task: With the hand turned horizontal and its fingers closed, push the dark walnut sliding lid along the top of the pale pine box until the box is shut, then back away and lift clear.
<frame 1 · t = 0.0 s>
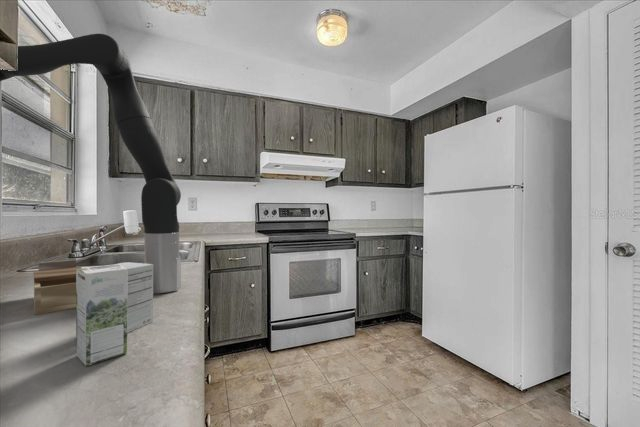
syrup box: (102, 356, 49), on the countertop
box: (61, 304, 75), on the countertop
supplement box: (125, 327, 61), on the countertop
lid: (59, 269, 81), point 8 cm above the countertop, slide at 6.5 cm
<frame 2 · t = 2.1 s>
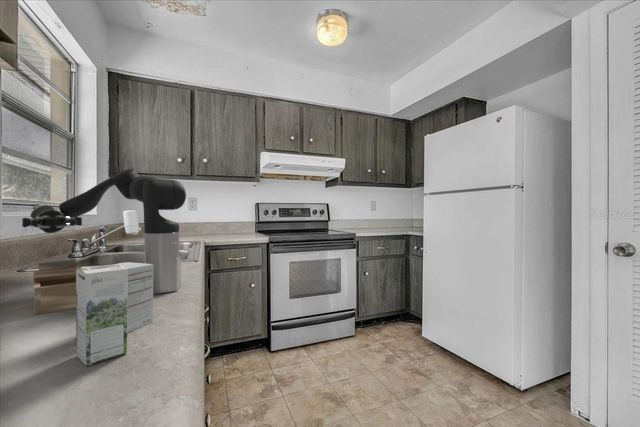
hand: (54, 222, 90), 20 cm above the countertop, tool horizontal, fingers open, 8 cm apart
nothing on the countertop moved.
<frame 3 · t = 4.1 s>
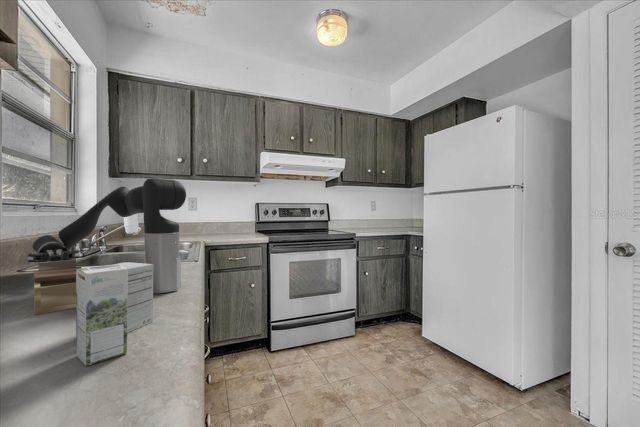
hand: (56, 259, 90), 9 cm above the countertop, tool horizontal, fingers closed
nothing on the countertop moved.
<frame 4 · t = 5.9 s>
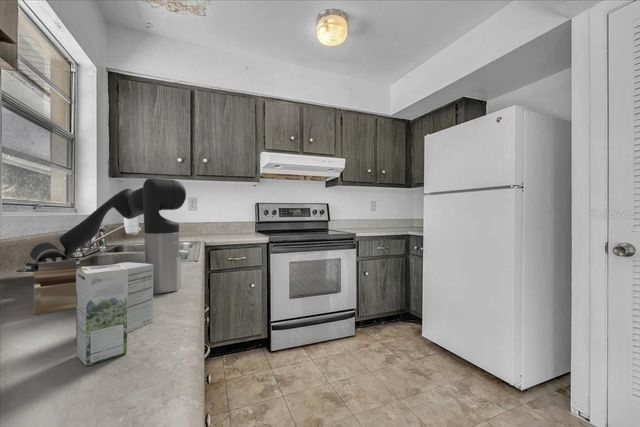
hand: (55, 268, 85), 7 cm above the countertop, tool horizontal, fingers closed
lid: (59, 269, 80), point 8 cm above the countertop, slide at 5.9 cm, touching gripper
everything else where it was.
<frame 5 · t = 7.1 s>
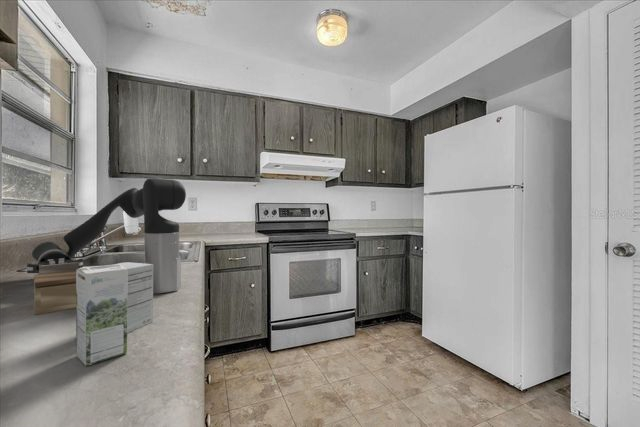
hand: (58, 270, 81), 8 cm above the countertop, tool horizontal, fingers closed
lid: (61, 273, 76), point 8 cm above the countertop, slide at -0.1 cm, touching gripper
everything else where it was.
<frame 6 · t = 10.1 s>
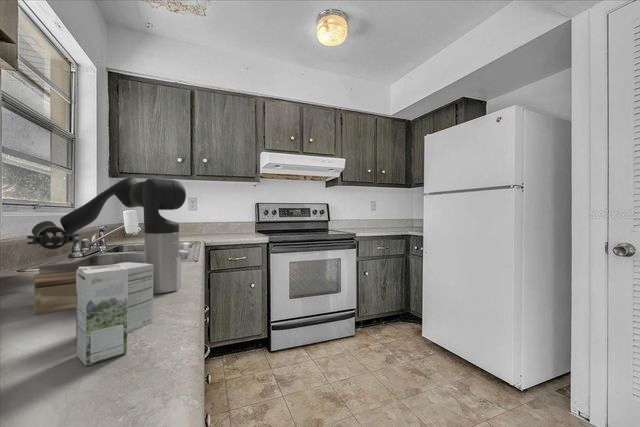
hand: (56, 240, 88), 15 cm above the countertop, tool horizontal, fingers closed
lid: (61, 273, 76), point 8 cm above the countertop, slide at 0.0 cm
everything else where it was.
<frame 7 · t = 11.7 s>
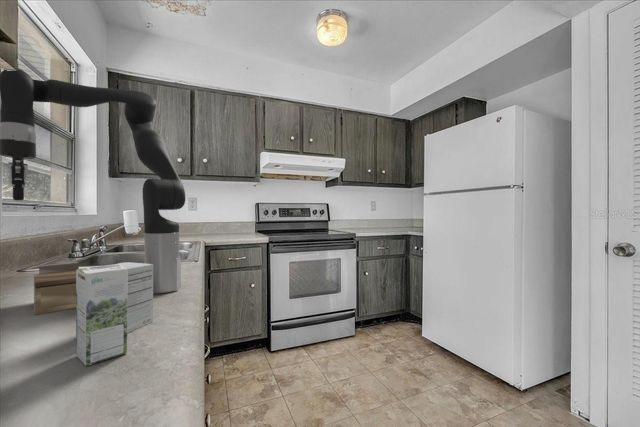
hand: (18, 200, 87), 27 cm above the countertop, tool pointing down, fingers closed
nothing on the countertop moved.
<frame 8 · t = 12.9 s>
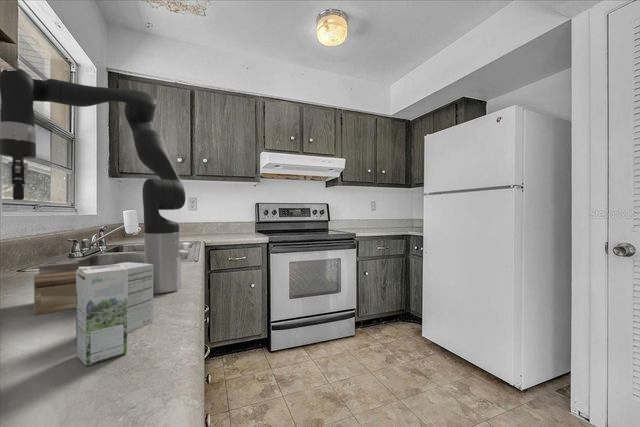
hand: (18, 199, 87), 27 cm above the countertop, tool pointing down, fingers closed
nothing on the countertop moved.
at the end: lid slide at 0.0 cm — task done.
